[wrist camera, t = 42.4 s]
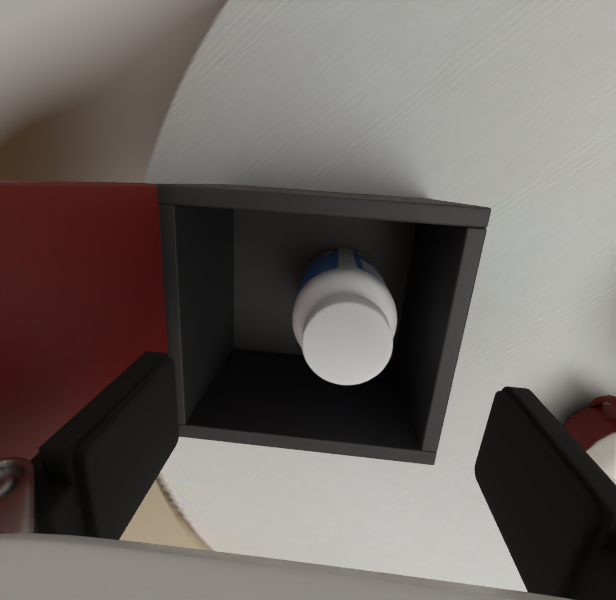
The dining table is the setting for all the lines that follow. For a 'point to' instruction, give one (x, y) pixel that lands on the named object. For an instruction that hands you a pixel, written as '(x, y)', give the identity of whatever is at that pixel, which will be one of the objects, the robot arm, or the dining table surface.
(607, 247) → the dining table surface
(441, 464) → the dining table surface
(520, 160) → the dining table surface
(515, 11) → the dining table surface
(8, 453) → the bin lid
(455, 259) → the dark open-top bin
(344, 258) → the pill bottle
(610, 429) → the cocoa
